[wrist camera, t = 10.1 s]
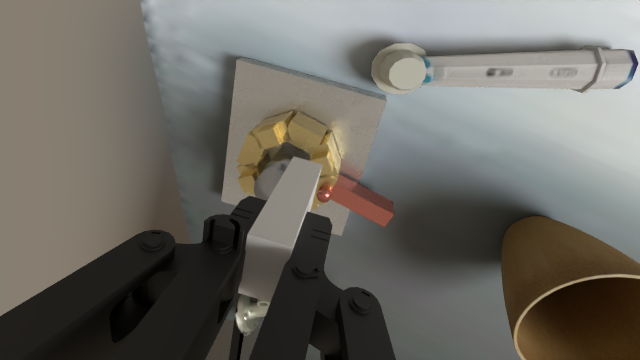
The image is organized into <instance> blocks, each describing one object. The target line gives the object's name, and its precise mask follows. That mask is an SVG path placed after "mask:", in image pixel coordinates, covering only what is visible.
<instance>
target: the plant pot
mask: <svg viewBox="0 0 640 360" xmlns="http://www.w3.org/2000/svg"><path fill="white" fill-rule="evenodd" d="M501 270H502V284H503V293H504V300H505V306H506V311H507V315H508V320H509V324H510V329H511V334H512V338H513V342H514V346H515V349H516V351H517V353H518V355H519V356H520V358H521V359H522V360H640V264H639V263H638V262H636V261H635V260H633V259H632V258H630V257H628V256H627V255H625V254H623V253H622V252H620V251H618V250H617V249H615V248H613V247H612V246H610V245H608V244H606V243H604V242H602V241H601V240H599V239H597V238H595V237H593V236H591V235H589V234H587V233H585V232H583V231H580V230H578V229H576V228H574V227H571V226H569V225H567V224H564V223H562V222H559V221H556V220H554V219H551V218H548V217H543V216H531V217H526V218H523V219H521V220H518V221H517V222H515V223H513V224H512V225H511V226H510V227H509V228H508V229H507V231H506V232H505V234H504V237H503V244H502V257H501Z"/></svg>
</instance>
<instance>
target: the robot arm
mask: <svg viewBox="0 0 640 360" xmlns="http://www.w3.org/2000/svg"><path fill="white" fill-rule="evenodd" d="M321 169H322V164H319V163H315V162H312V161H308V160H305V159H301V158H298V157H293V158H292V160H291V162H290V163H289V165H288V167H287V168H286V170H285V172H284V174H283V175H282V177H281V179H280V180H279V182H278V184H277V185H276V187H275V189H274V190H273V192H272V194H271V195H270V197H269V199H268V201H267V200H263V199H260V198H256V197H253V196H248V197H246V198H244V199H242V200H241V201H240V202H239V203H238V205H237V206H236V208H235V209H234V210H233V212H232V213H231V214H230V215H225V214H222V215H214V216H211V217H209V218H208V219H206V220H205V221H204V231H203V241H202V242H201V243H198V244H178V243H175V239H174V237H173V236H172V235H171V234H170V233H168V232H165V231H162V230H150V231H144V232H142V233H139V234H137V235H135V236H134V237H132V238H131V239H129V240H127V241H125V242H124V243H122V244H120V245H119V246H117V247H115V248H114V249H112V250H110V251H109V252H107V253H105V254H104V255H102V256H100V257H99V258H97V259H95V260H93V261H92V262H90V263H88V264H87V265H85V266H84V267H82V268H80V269H78V270H77V271H75V272H73V273H72V274H70V275H68V276H67V277H65V278H64V279H62V280H60V281H58V282H57V283H55V284H53V285H52V286H50V287H48V288H47V289H45V290H43V291H42V292H40V293H38V294H37V295H35V296H33V297H32V298H30V299H28V300H27V301H25V302H23V303H22V304H20V305H18V306H17V307H15V308H13V309H12V310H10V311H8V312H7V313H5V314H3V315H2V316H0V360H205V359H206V357H207V355H208V353H209V351H210V349H211V347H212V345H213V343H214V341H215V339H216V337H217V335H218V333H219V331H220V329H221V327H222V325H223V323H224V321H225V319H226V317H227V315H228V313H229V311H230V309H231V307H232V304H233V300H234V294H235V292H236V290H237V288H238V286H239V290H238V293H240V294H243V295H247V296H250V297H253V298H257V299H260V300H263V301H267V302H270V305H269V308H268V310H267V313H266V316H265V318H264V321H263V323H262V326H261V329H260V332H259V334H258V337H257V340H256V342H255V345H254V348H253V350H252V353H251V355H250V359H249V360H305V358H306V353H307V349H308V344H311V345H312V346H314V347H315V348H317V349H318V350H320V351H321V352H320V357H321V360H396V359H395V355H394V352H393V348H392V345H391V341H390V338H389V334H388V330H387V327H386V323H385V320H384V316H383V313H382V309H381V306H380V304H379V302H378V300H377V298H376V297H375V296H374V295H373V294H372V293H370V292H369V291H367V290H365V289H362V288H358V287H350V288H348V289H346V290H344V291H343V290H342V289H340V288H338V287H337V286H335V285H334V284H332V283H331V282H330V281H329V280H328V278H327V277H326V275H325V272H324V263H325V259H326V254H327V249H328V245H329V240H330V235H331V231H332V223H331V221H330V218H328V217H325V216H321V215H318V214H314V213H311V212H310V210H311V207H312V203H313V199H314V195H315V191H316V188H317V184H318V180H319V176H320V173H321Z"/></svg>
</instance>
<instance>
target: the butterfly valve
mask: <svg viewBox="0 0 640 360" xmlns="http://www.w3.org/2000/svg"><path fill="white" fill-rule="evenodd" d="M269 305H270V302H267V301H263V300H260V299H258V300H257V298H253V297H250V296H247V295H243V294H241V296H240V298H239V301H238V308H237V309H236V312H235V320H234V327H233V335H232V341H231V348H230V355H229V360H240V354H241V348H242V342H243V337H244V335H249V334H250V333H251V331H253V330H255V329H256V328H257V326H258V323H259V317H263V316H266V313H267V310H268V308H269Z"/></svg>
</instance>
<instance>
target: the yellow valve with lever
mask: <svg viewBox="0 0 640 360" xmlns="http://www.w3.org/2000/svg"><path fill="white" fill-rule="evenodd" d="M327 128H328V127H327V126H325V125H323V124H321V123H319V122H317V121H315V120H314V119H312V118H310V117H308V116H306V115H304V114H302V113H300V112H299V111H298V113H297V114H296V115H295V116H294V114H293V111H290V112H287V113H284V114H280V115H277V116H274V117H270V118H267V119H264V120H262V121H261V122H260V123H259V124H258V125H257V126H255V127H254V128H253V129H252V130H251V131H250V132H249V133H248V134H247V137H246V139H245V141H244V144H243V146H242V149H241V151H240V154H239V156H238V159H237V161H236V162H238V163H240V164H239V165H238V166H237V169H238V171H239V173H240V176H239V178H238V179H237V180H238V182H239V184H240V186H241V188H242V190H243V192H244V194H245V193H249V195H254V183H255V181H256V180H257V178H258V177H259V175H260V174H261V173H262V171H263V170H264V169H265V167H266V166H267V165H268V163H269V160H268V157H267V155H266V154H267V151H268V149H269V148H272V147H275V146H279V145H280V144H281V143H284V142H289V143H291V144H293V145H294V146H296V147H298V148H300V149H302V150H304V151H306V152H308V153H309V155H310V157H311V159H310V161H312V162H315V163H319V164H322V169H321V173H320V176H319V180H318V184H317V188H316V191H315V195H314V199H313V203H312V207H311V210H313V209H318V206H319V204H320V205H323V203H326V202H328V201H329V200H330V199H331V200H333V201H334V202H336V203H338V204H340V205H342V206H344V207H346V208H348V209H350V210H352V211H354V212H356V213H358V214H360V215H362V216H364V217H366V218H367V219H369V220H371V221H373V222H375V223H377V224H379V225H381V226H383V227H385V226H386V225H387V223H388V222H389V221H390V219H391V218H392V217H393V215H394V208H393V202H392V201H390V200H388V199H386V198H384V197H382V196H380V195H378V194H377V193H375V192H373V191H371V190H369V189H367V188H365V187H363V186H361V185H359V184H357V183H356V182H354V181H352V180H350V179H348V178H346V177H344V176H342V175H340V174H339V172H340V168H341V166H340V165H341V158H340V155H339V152H338V149H337V146H336V143H335V140H334V137H333V134H332V132H329V133H326V130H327ZM325 133H326V134H325ZM255 197H256V196H255Z"/></svg>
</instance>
